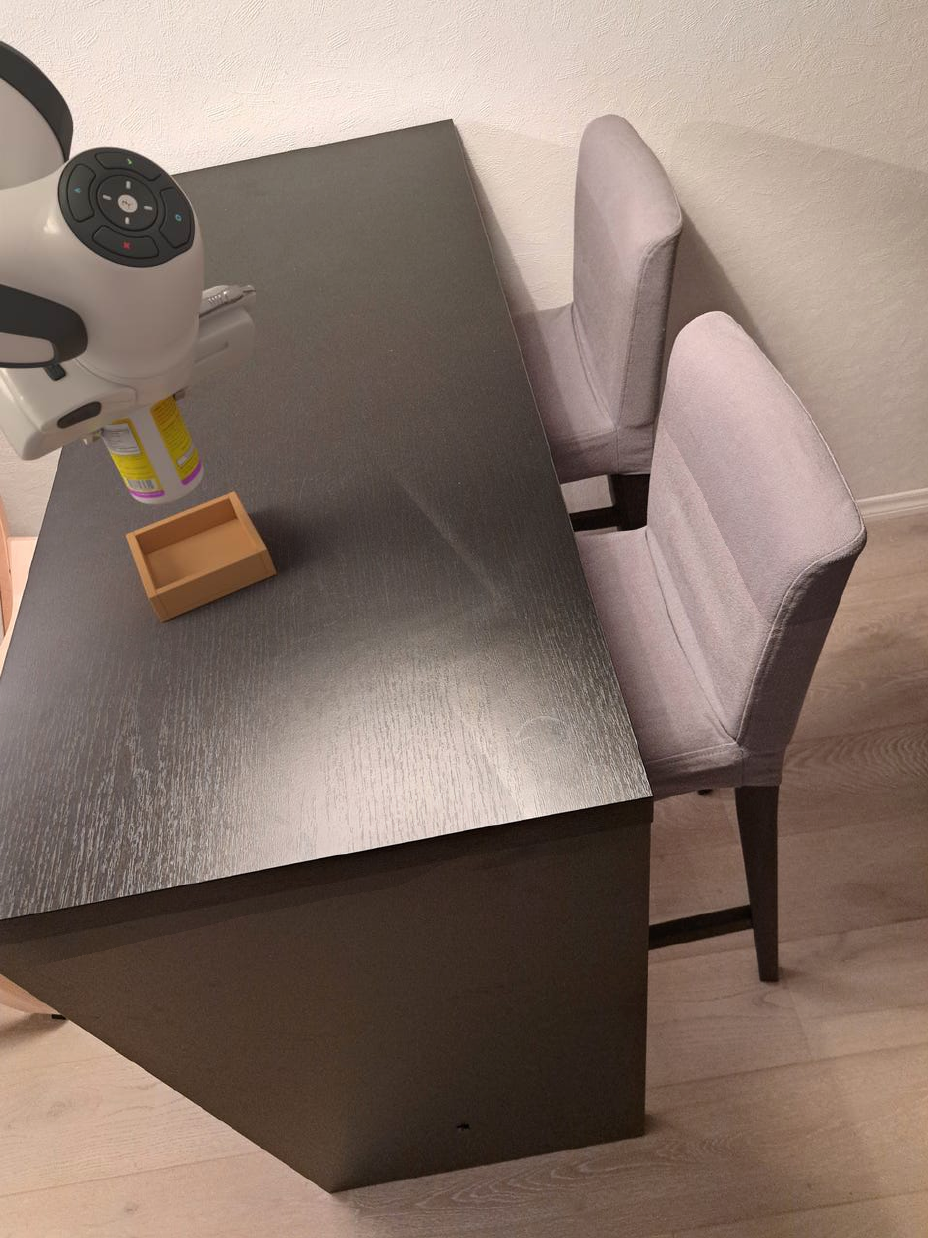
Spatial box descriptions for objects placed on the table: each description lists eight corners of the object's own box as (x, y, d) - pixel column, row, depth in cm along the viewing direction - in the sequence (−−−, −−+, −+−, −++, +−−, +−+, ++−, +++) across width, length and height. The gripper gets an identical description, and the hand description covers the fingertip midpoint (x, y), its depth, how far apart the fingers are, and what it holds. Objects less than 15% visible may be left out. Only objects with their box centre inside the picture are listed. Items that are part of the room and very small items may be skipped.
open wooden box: (161, 622, 84) (148, 598, 82) (137, 558, 92) (125, 534, 90) (276, 573, 87) (267, 548, 85) (244, 514, 95) (234, 490, 93)
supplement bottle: (196, 454, 86) (141, 323, 77) (214, 488, 81) (157, 353, 73) (125, 481, 85) (61, 351, 76) (139, 517, 80) (72, 383, 71)
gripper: (235, 242, 69) (220, 329, 82) (-35, 358, 62) (-4, 434, 75) (282, 315, 70) (260, 390, 82) (19, 439, 62) (40, 501, 75)
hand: (133, 412), depth 79 cm, fingers closed on supplement bottle, 6 cm apart
